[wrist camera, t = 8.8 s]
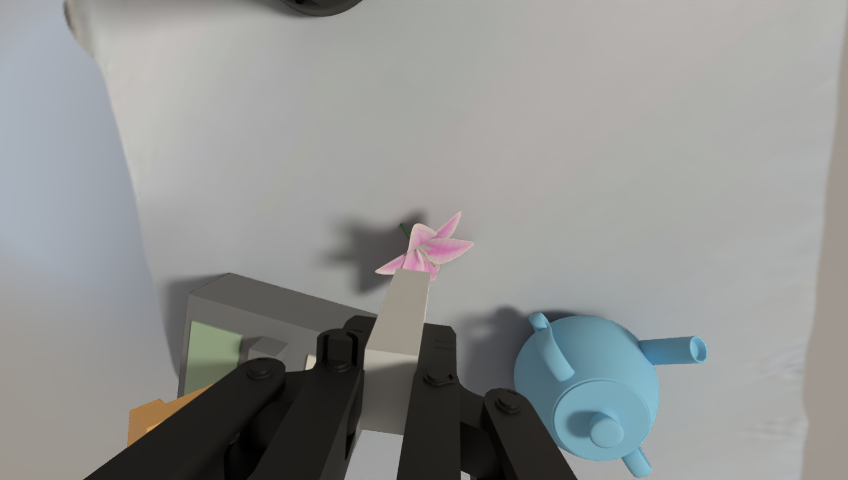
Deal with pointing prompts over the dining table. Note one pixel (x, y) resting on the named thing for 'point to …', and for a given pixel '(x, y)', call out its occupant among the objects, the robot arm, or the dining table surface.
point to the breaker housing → (252, 329)
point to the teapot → (597, 384)
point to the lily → (429, 249)
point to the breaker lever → (155, 414)
